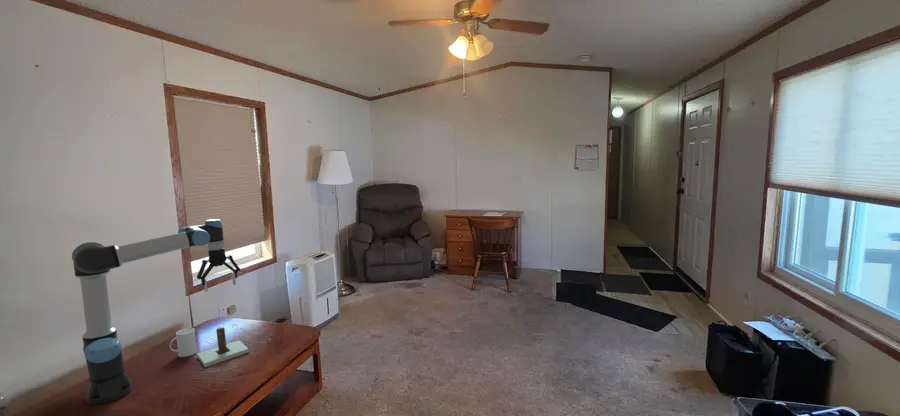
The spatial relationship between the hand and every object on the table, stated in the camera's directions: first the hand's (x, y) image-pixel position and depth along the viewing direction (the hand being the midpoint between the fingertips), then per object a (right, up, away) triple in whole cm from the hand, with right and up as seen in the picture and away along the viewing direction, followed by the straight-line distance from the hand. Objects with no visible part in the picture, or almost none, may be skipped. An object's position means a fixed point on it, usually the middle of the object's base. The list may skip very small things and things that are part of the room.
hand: (220, 287), depth 216 cm
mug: (-15, -34, -6) cm, 37 cm away
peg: (+6, -33, -8) cm, 34 cm away
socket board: (+6, -33, -8) cm, 34 cm away
